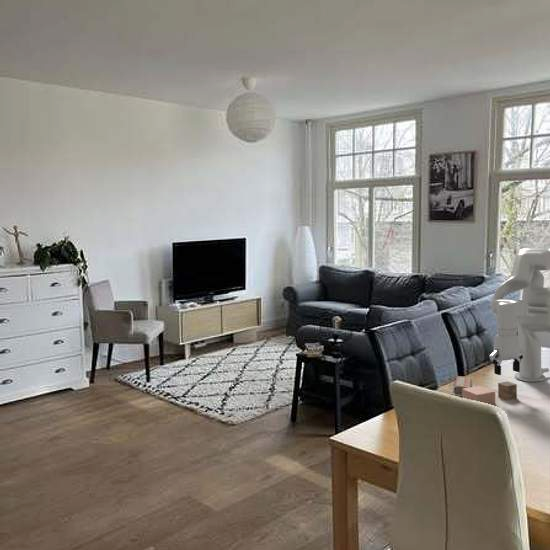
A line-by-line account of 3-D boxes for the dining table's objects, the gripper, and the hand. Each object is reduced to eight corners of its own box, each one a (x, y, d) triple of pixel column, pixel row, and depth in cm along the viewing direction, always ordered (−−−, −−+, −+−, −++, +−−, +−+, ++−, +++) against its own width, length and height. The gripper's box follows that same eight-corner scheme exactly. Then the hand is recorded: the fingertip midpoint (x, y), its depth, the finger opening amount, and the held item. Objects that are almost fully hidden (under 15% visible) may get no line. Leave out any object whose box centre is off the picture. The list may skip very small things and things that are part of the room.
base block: (479, 397, 230) (479, 385, 230) (495, 403, 222) (495, 391, 221) (462, 400, 227) (462, 388, 227) (477, 407, 219) (477, 394, 218)
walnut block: (507, 395, 231) (507, 381, 231) (516, 398, 227) (516, 384, 226) (498, 396, 230) (498, 382, 229) (507, 400, 225) (507, 386, 225)
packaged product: (451, 374, 249) (474, 376, 246) (451, 385, 250) (475, 386, 246) (448, 386, 233) (473, 388, 229) (449, 397, 233) (474, 399, 230)
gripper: (516, 328, 232) (516, 368, 233) (483, 332, 226) (483, 373, 228) (530, 331, 225) (530, 372, 226) (496, 335, 219) (496, 377, 221)
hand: (507, 372), depth 227 cm, fingers open, 9 cm apart
